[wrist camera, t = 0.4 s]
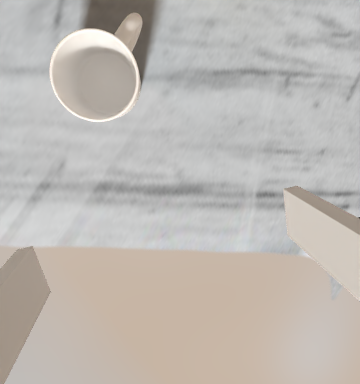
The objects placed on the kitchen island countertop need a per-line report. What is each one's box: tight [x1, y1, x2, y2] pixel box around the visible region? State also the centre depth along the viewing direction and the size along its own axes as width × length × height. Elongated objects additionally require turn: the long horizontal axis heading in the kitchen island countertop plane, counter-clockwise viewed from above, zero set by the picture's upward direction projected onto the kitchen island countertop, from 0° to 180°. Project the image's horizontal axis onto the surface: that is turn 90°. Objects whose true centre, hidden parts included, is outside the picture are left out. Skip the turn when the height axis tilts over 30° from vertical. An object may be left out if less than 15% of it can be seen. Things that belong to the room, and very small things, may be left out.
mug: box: [50, 13, 142, 122], centre depth 32 cm, size 12×8×10 cm
